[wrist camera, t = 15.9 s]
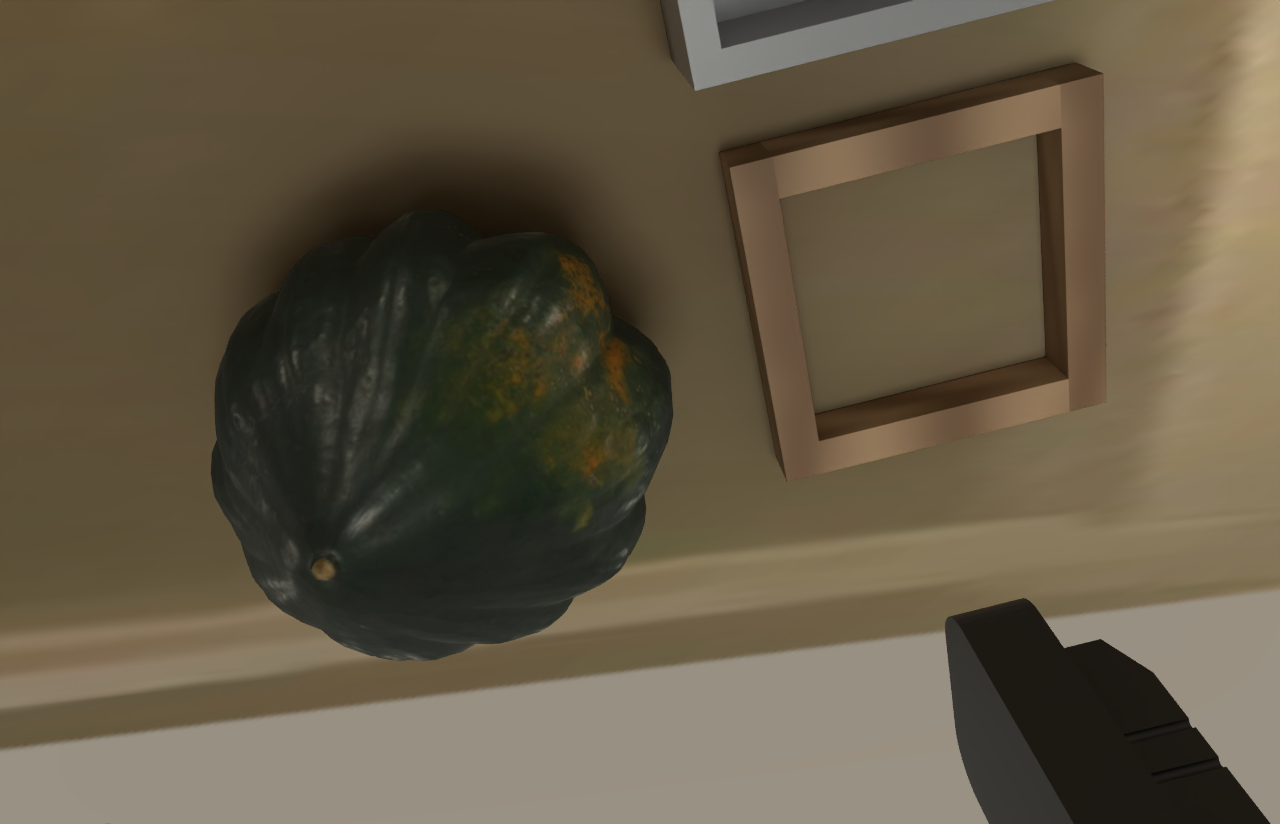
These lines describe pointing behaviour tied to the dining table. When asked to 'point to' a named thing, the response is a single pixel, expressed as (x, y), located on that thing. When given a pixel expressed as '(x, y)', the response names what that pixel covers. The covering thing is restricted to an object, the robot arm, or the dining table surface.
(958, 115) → the walnut frame
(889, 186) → the dining table surface
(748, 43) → the grey bin
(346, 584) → the squash
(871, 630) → the dining table surface
